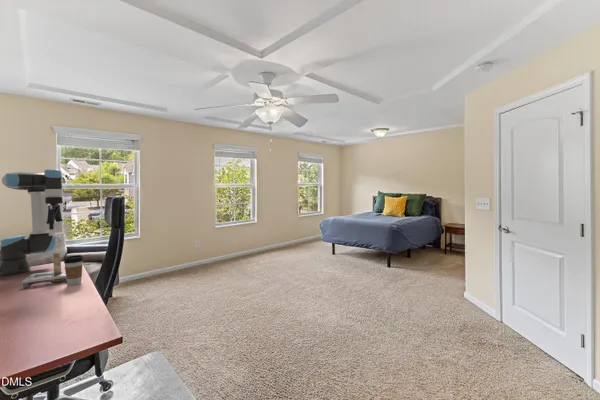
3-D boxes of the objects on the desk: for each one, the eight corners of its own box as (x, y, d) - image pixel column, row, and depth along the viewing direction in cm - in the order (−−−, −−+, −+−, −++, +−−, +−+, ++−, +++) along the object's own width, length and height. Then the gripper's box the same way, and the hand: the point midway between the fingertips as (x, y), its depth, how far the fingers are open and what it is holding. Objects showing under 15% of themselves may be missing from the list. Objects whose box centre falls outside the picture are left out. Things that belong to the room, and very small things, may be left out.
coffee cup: (87, 281, 164) (86, 255, 164) (74, 286, 156) (73, 258, 155) (74, 281, 165) (73, 255, 164) (60, 286, 156) (59, 258, 156)
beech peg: (52, 280, 169) (51, 252, 169) (65, 278, 172) (64, 251, 171) (50, 282, 164) (49, 254, 164) (62, 281, 167) (61, 252, 166)
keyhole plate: (32, 280, 169) (32, 273, 169) (75, 275, 178) (75, 268, 178) (22, 288, 155) (22, 280, 155) (70, 282, 164) (69, 275, 164)
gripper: (51, 196, 176) (52, 232, 177) (38, 196, 154) (40, 237, 155) (67, 196, 180) (68, 231, 180) (56, 196, 158) (58, 236, 158)
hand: (55, 234), depth 167 cm, fingers open, 13 cm apart
